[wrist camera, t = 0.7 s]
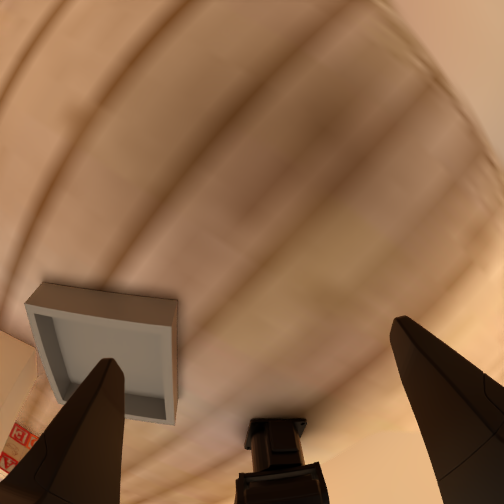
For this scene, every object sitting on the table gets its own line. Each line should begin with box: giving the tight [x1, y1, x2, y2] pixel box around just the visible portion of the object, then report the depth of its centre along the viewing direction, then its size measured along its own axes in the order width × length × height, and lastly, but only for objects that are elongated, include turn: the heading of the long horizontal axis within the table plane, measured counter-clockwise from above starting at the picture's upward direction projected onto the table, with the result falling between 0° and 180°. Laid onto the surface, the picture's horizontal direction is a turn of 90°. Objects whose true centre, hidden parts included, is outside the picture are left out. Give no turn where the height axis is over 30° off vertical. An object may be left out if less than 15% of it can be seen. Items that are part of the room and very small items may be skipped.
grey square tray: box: [24, 282, 178, 426], centre depth 26 cm, size 13×13×4 cm
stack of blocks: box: [0, 423, 39, 479], centre depth 30 cm, size 21×6×12 cm, turn 45°
